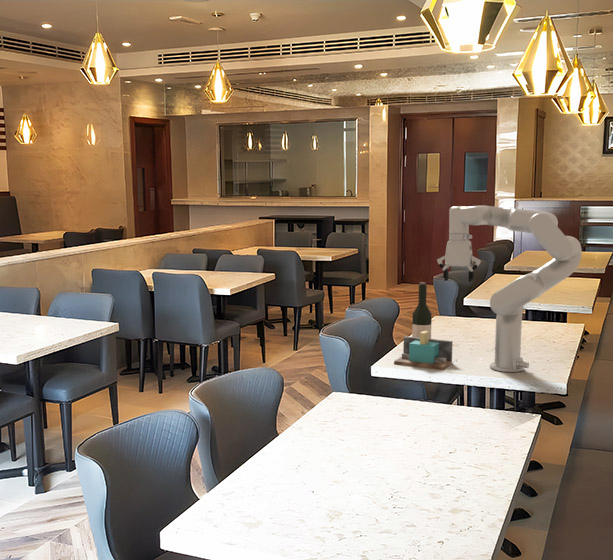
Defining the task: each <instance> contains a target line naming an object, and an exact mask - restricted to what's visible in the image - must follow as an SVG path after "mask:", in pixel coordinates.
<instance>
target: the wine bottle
mask: <svg viewBox="0 0 613 560" xmlns="http://www.w3.org/2000/svg"><path fill="white" fill-rule="evenodd" d="M426 283H427V282H423V281H421V282H419V284H418V305H417V306H416V308H415V309H414V311H413V313H412V324H411V326H412V328H411V329H412V332H411V337H416V338H420V333H421V332H423V331H429V339H432V321H433V319H432V315H433V314H432V311H431V310H430V309H429V306H428V305H427V292H428V291H427V288H428V287H427V284H426Z"/></svg>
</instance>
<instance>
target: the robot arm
mask: <svg viewBox="0 0 613 560" xmlns="http://www.w3.org/2000/svg"><path fill="white" fill-rule="evenodd" d="M448 211H449V213H448V215H449V216H448V217H449V219H448V220H449V222H448V223H449V224H448V225H449V227H448V228H449V229H448V232H449V233H448V236H449V237H448V241H447V243H446V247H445V254H444V255H443V256H441V257H439V258H437V259H436V261H437V264H438V265H439V268H441V270H442V271H443V279H444V282H445V281H448V280H449V268H450V267H462V268H463V267H464V268H467V269H468V270H469V271H468V282H470V283H471V282H472V281H473V280H474V274H475V273H474V272H475V270H477V269H478V267H479V265H480V264H481V262H482V261H481V259H479V258H477V257H475V256H473V246H472V241H471V240H470V239H473V235H472V234H470V231H469V229H470V228H469V227H470V226H482V225H486V226H493V227H495V226H496V227H500V228H501V227H502V228H506V229H507V230H509V231H511V232H518V233H519V232H520V233H526V234H532V235H533V236H534V238H535V240H537V241H538V243H539V244H540V245H541V247H542V248H543V249H544V250H545V251H546V252H547V253H548V255H550V256H551V258H552V259H551V260H550V261H548V262H545V263H544V264H543V265H542V266H540V267H539V268H537V269H535V270H533V271H532V272H529V273H527V274H523V275H521V276H519V277H517V278H516V279H514V280H513V281H511V282H509V283H507V284H506V285H505V286H504V287H502V288H500V289H498V290H497V291H496V292H494V293H493V294H491V297H490V300H489V306H490V309H491V311H492V312H493V313H494V314H495V315H496V318H495V337H494V339H495V341H494V342H495V343H494V361H493V362H491V363H490V366H489V367H490V369H492V370H494V371H499V372H504V373H519V372H522V371H524V370H525V369H529V368H530V363H529V361H524V359H523V357H521V351H522V350H521V346H522V321H523V312H524V306H525V305H528V304H529V303H530V302H532V301H534V300H535V299H538V298H539V297H541V296H542V295H543V294H544V293H546V292H547V291H549V290H550V289H552V288H554V287H555V286H557V285H558V284H560V283H561V282H562V281H564V280H566V279H567V278H568V277H570V276H571V275H572V274H573V273H574V272H575V271H576V270H577V268H578V266H579V265H580V263H581V259H582V254H583V251H582V246H581V242H580V241H579V240H578V239H577V238H576V237H574V236H570V235H565V234H564V233H563V231H562V230H561V229H560V228H559V227H558V226H559V225H558V224H559V221H558V218H557V216H556V215H555V214H554V213H551V212H548V211H541V210H533V209H532V210H531V209H523V208H512V207H511V208H510V207H501V206H492V205H491V206H490V205H472V206H461V205H459V206H458V205H457V206H451V207H450V208H449V210H448ZM443 260H444V263H445V264H443ZM473 262H475V264H474V265H473Z"/></svg>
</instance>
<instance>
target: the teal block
mask: <svg viewBox="0 0 613 560" xmlns="http://www.w3.org/2000/svg"><path fill="white" fill-rule="evenodd" d="M435 357H439V343H437V342H429V331H423V332H421V333H420V341H417V340H415V341H413V342H411V343H409V361H416V362H424V363H432V364H433V363H434V358H435Z"/></svg>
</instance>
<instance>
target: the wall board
mask: <svg viewBox="0 0 613 560" xmlns="http://www.w3.org/2000/svg"><path fill="white" fill-rule="evenodd" d="M415 340H417V341H420V338H416V337H412V336H404V337H403V347H402V348H403V349H402V350H403V352H402V353H401V356H400V357H398V358H397V359H395V360H394V361H393V364H394V365H400V366H408V367H414V368H415V367H416V368H424V369H425V368H426V369H434V370H441V371H444V370H445V369H446V368H447V366H448V367H449V366H450V365H451V364H453V343H454V342H453V340H444V339H436V338H435V339H434V338H431V339H429V342H437V343H439V357H435V358H434V363H433V364H432V363H424V362H416V361H409V343H411V342H413V341H415Z"/></svg>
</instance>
